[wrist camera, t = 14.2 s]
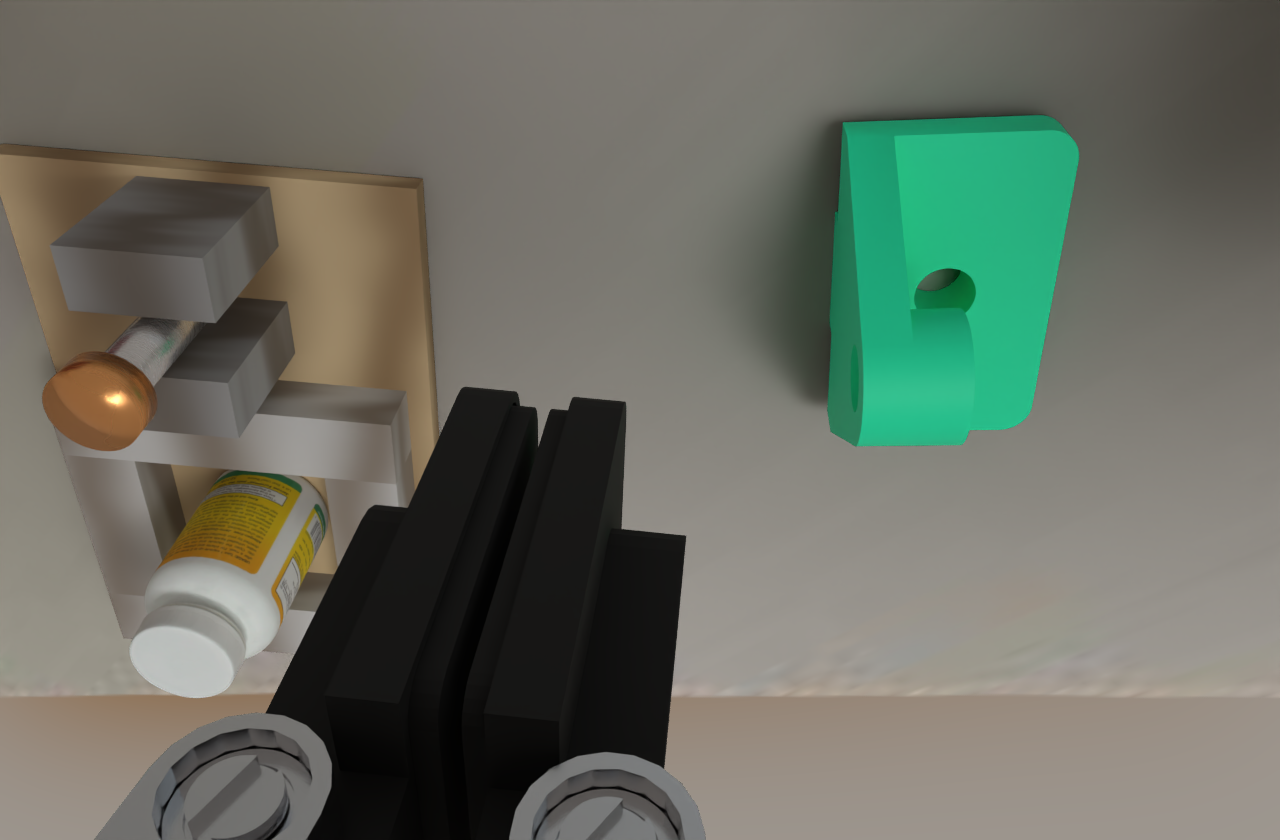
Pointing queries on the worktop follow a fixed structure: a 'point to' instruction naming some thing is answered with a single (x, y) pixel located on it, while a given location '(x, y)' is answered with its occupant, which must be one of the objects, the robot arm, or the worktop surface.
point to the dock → (313, 270)
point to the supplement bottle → (228, 581)
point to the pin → (116, 384)
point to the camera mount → (938, 239)
